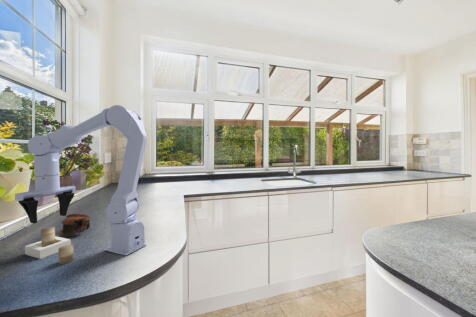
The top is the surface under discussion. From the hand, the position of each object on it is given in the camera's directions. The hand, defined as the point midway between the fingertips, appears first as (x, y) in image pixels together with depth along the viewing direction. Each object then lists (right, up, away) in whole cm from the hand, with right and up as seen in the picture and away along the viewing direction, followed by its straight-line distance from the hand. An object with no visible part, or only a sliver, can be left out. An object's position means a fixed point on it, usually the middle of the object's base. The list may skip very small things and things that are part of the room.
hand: (49, 218), depth 66 cm
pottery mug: (-3, -10, +15) cm, 18 cm away
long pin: (0, -10, 0) cm, 10 cm away
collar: (0, -10, 0) cm, 10 cm away
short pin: (+11, -10, -7) cm, 16 cm away
